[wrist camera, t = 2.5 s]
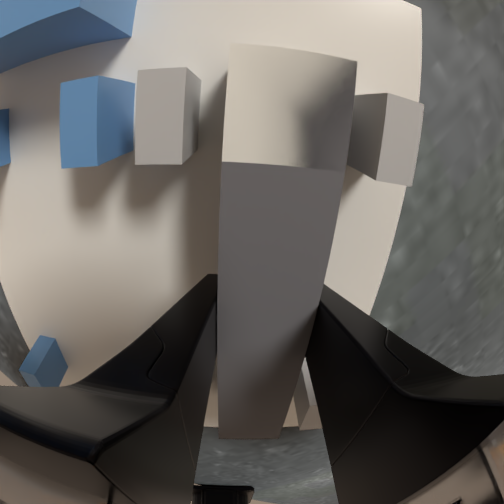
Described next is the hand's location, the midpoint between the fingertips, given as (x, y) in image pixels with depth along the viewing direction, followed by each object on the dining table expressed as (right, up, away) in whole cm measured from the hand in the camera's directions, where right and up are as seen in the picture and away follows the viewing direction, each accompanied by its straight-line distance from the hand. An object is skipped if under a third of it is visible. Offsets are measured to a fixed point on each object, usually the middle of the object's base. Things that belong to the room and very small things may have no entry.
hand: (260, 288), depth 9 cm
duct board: (-4, +1, +1) cm, 4 cm away
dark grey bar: (0, 0, +1) cm, 1 cm away
